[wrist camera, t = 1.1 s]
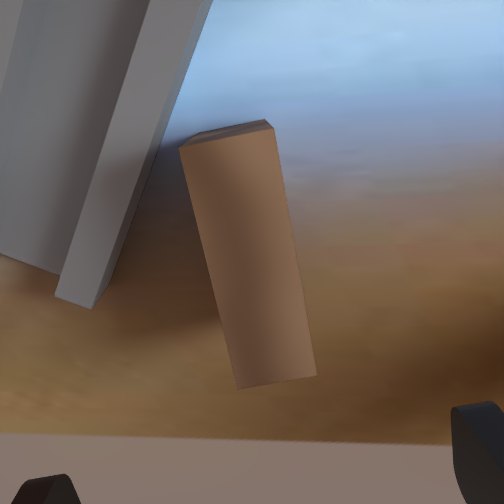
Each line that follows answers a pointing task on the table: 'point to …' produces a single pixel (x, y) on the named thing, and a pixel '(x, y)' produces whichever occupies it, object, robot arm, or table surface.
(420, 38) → the table surface
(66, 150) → the picture ledge
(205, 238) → the wooden framed block
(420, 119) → the table surface
